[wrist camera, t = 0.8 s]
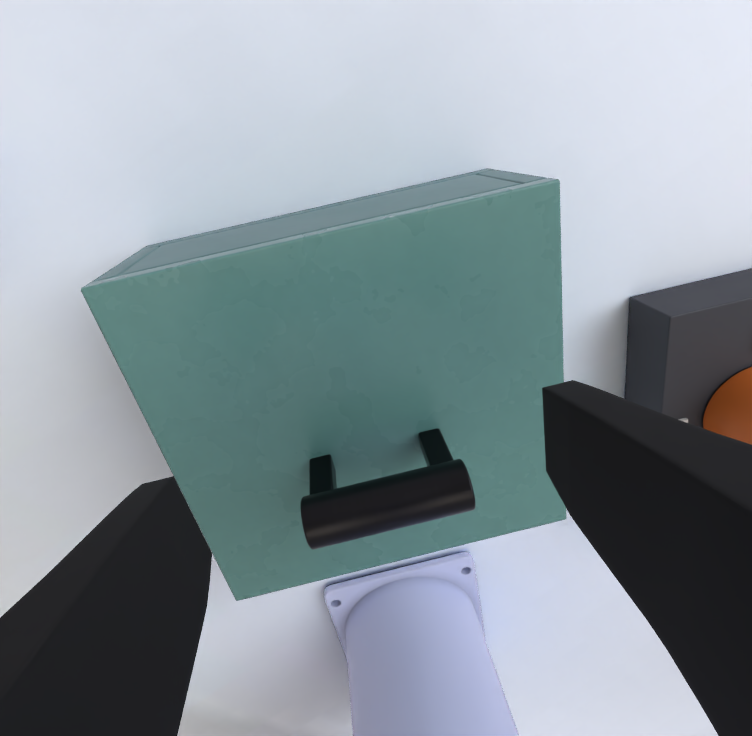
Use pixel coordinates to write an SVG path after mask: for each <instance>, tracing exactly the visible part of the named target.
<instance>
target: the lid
mask: <svg viewBox="0 0 752 736" xmlns="http://www.w3.org/2000/svg"><path fill="white" fill-rule="evenodd" d="M81 292H82V294H83V296H84V298H85V300H86V302H87V304H88V306H89V308H90V310H91V312H92V314H93V316H94V318H95V320H96V322H97V324H98V326H99V327H100V329H101V331H102V333H103V335H104V337H105V339H106V341H107V343H108V345H109V347H110V349H111V351H112V353H113V355H114V357H115V359H116V361H117V363H118V365H119V367H120V369H121V371H122V373H123V375H124V377H125V379H126V381H127V383H128V385H129V387H130V389H131V391H132V393H133V395H134V397H135V399H136V401H137V403H138V405H139V407H140V409H141V411H142V413H143V415H144V417H145V419H146V421H147V423H148V425H149V427H150V429H151V431H152V433H153V435H154V437H155V439H156V441H157V443H158V445H159V447H160V449H161V451H162V453H163V455H164V457H165V459H166V461H167V463H168V465H169V467H170V469H171V471H172V473H173V475H174V477H175V479H176V481H177V483H178V485H179V487H180V489H181V491H182V493H183V495H184V497H185V499H186V501H187V503H188V505H189V507H190V509H191V511H192V513H193V515H194V517H195V519H196V521H197V523H198V525H199V527H200V529H201V531H202V533H203V535H204V537H205V539H206V541H207V543H208V545H209V547H210V549H211V551H212V553H213V555H214V557H215V559H216V561H217V563H218V565H219V567H220V569H221V571H222V573H223V575H224V577H225V579H226V581H227V583H228V585H229V587H230V589H231V591H232V593H233V595H234V597H235V599H236V601H239V600H243V599H247V598H251V597H255V596H259V595H263V594H267V593H271V592H275V591H279V590H283V589H287V588H291V587H295V586H299V585H303V584H307V583H311V582H315V581H319V580H323V579H327V578H331V577H335V576H339V575H343V574H347V573H351V572H355V571H359V570H363V569H367V568H371V567H375V566H379V565H383V564H388V563H392V562H396V561H400V560H404V559H408V558H412V557H416V556H420V555H424V554H428V553H432V552H436V551H440V550H444V549H448V548H452V547H456V546H460V545H464V544H468V543H472V542H476V541H480V540H484V539H488V538H492V537H496V536H500V535H504V534H508V533H512V532H516V531H520V530H524V529H528V528H533V527H537V526H541V525H545V524H549V523H553V522H557V521H561V520H565V519H566V507H565V505H564V503H563V501H562V500H561V498H560V496H559V494H558V492H557V491H556V489H555V487H554V485H553V483H552V481H551V479H550V477H549V476H548V474H547V472H546V459H545V438H544V417H543V396H542V388H543V387H547V386H551V385H555V384H560V383H564V378H563V328H562V277H561V227H560V181H559V180H558V179H552V178H546V179H542V180H537V181H533V182H529V183H524V184H520V185H515V186H511V187H507V188H502V189H498V190H494V191H489V192H485V193H480V194H476V195H472V196H467V197H463V198H458V199H454V200H450V201H445V202H441V203H437V204H432V205H428V206H423V207H419V208H415V209H410V210H406V211H401V212H397V213H393V214H388V215H384V216H380V217H375V218H371V219H366V220H362V221H358V222H353V223H349V224H344V225H340V226H336V227H331V228H327V229H323V230H318V231H314V232H309V233H305V234H301V235H296V236H292V237H287V238H283V239H279V240H274V241H270V242H266V243H261V244H257V245H252V246H248V247H244V248H239V249H235V250H230V251H226V252H222V253H217V254H213V255H209V256H204V257H200V258H195V259H191V260H187V261H182V262H178V263H173V264H169V265H165V266H160V267H156V268H152V269H147V270H143V271H138V272H134V273H130V274H125V275H121V276H116V277H112V278H108V279H103V280H99V281H95V282H90V283H89V284H87V285H86V286H84V287H83V288H81Z"/></svg>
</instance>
